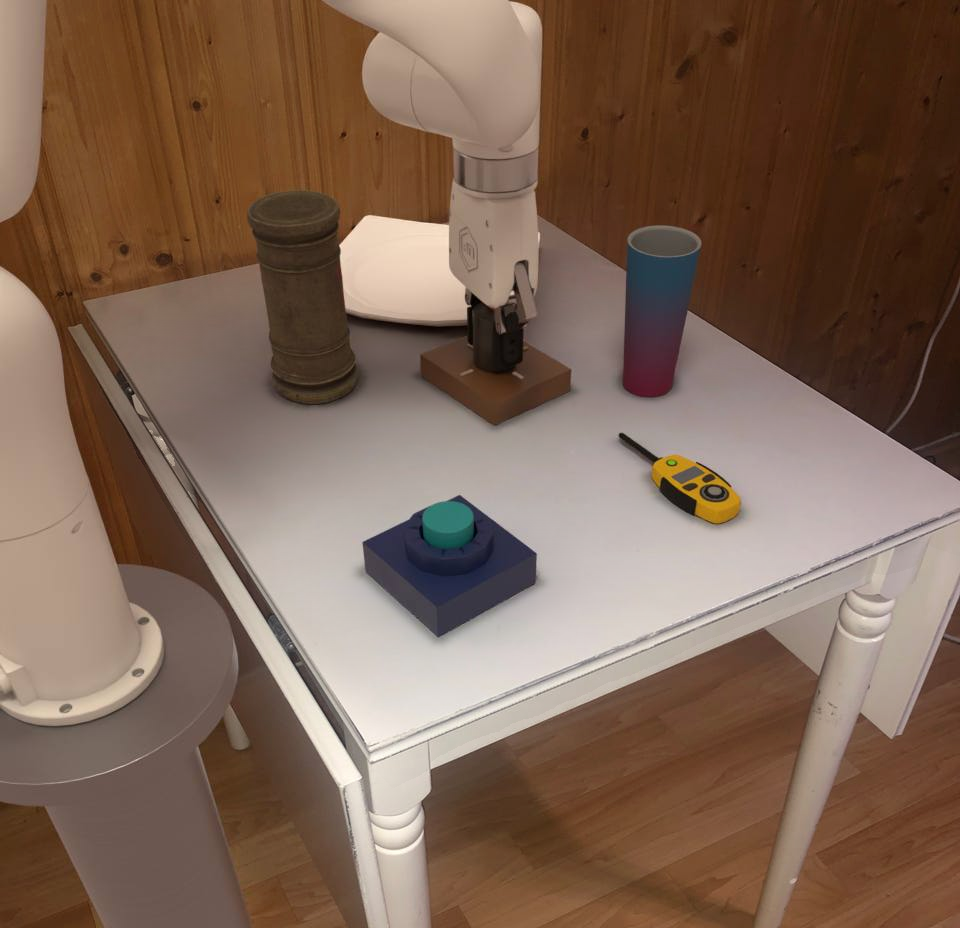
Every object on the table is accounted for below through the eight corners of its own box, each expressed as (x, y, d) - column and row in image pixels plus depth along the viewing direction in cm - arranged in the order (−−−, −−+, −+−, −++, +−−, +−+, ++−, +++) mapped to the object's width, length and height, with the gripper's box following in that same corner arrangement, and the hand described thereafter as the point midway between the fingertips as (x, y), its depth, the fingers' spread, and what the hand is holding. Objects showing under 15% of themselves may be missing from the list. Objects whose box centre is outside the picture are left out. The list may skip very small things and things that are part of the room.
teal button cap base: (438, 637, 81) (436, 589, 78) (365, 571, 87) (360, 524, 83) (535, 583, 86) (537, 535, 82) (460, 524, 91) (459, 477, 88)
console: (494, 425, 102) (494, 402, 100) (420, 376, 109) (419, 352, 107) (570, 391, 107) (571, 367, 105) (495, 345, 113) (495, 322, 111)
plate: (293, 322, 117) (290, 299, 115) (362, 231, 134) (360, 210, 132) (507, 347, 113) (508, 324, 111) (550, 249, 130) (551, 228, 128)
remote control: (712, 513, 89) (600, 431, 98) (709, 531, 91) (598, 448, 99) (753, 493, 91) (639, 415, 100) (749, 511, 92) (637, 432, 101)
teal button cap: (443, 556, 81) (443, 539, 80) (413, 531, 83) (412, 514, 82) (484, 536, 83) (483, 518, 82) (452, 512, 85) (452, 494, 84)
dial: (524, 365, 105) (526, 312, 101) (485, 376, 104) (485, 322, 100) (503, 346, 108) (504, 293, 104) (465, 356, 107) (464, 303, 103)
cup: (667, 363, 110) (686, 222, 100) (690, 397, 106) (712, 252, 95) (605, 371, 109) (617, 229, 99) (625, 405, 105) (640, 260, 94)
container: (323, 414, 104) (301, 235, 91) (253, 389, 107) (222, 213, 95) (377, 373, 109) (362, 199, 97) (308, 351, 113) (286, 180, 100)
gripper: (416, 142, 97) (425, 325, 110) (503, 209, 86) (501, 403, 99) (488, 128, 99) (488, 309, 112) (582, 191, 88) (570, 383, 101)
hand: (494, 351), depth 105 cm, fingers closed on dial, 4 cm apart
